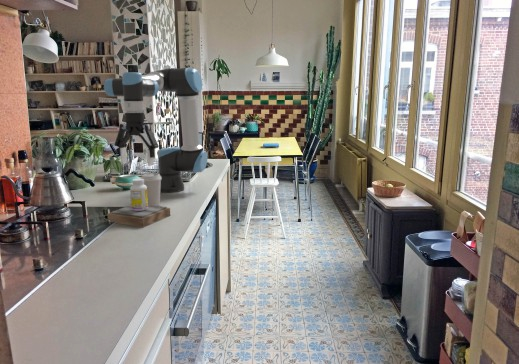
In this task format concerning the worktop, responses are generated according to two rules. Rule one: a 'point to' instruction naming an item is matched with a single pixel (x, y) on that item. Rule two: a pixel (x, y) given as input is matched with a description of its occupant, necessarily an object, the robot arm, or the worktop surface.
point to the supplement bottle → (139, 195)
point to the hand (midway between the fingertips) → (137, 164)
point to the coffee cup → (152, 187)
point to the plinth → (139, 215)
